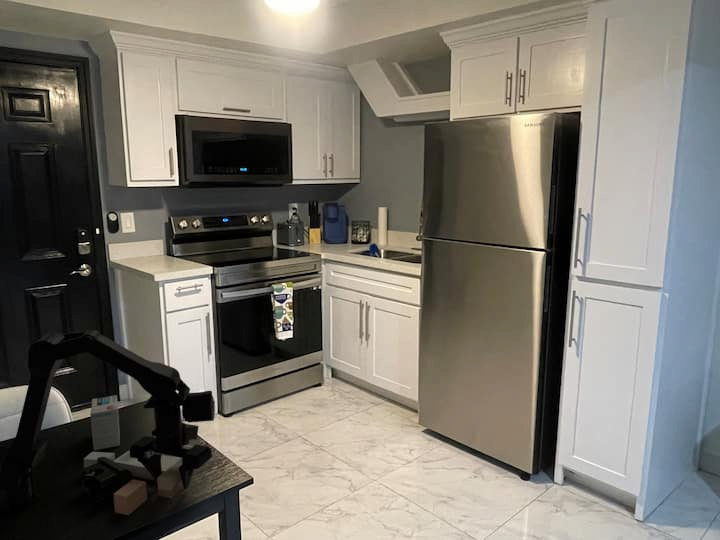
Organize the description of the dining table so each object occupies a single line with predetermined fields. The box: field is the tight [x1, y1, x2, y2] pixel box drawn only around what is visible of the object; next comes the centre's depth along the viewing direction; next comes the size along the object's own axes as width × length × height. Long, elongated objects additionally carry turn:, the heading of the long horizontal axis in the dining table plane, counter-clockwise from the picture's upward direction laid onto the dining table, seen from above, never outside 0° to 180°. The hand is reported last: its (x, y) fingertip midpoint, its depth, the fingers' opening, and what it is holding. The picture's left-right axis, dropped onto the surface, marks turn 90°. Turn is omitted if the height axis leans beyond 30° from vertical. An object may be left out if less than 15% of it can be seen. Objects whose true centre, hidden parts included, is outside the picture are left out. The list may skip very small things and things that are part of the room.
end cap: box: [81, 457, 134, 506], centre depth 122 cm, size 10×7×7 cm
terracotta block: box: [113, 478, 148, 516], centre depth 117 cm, size 6×4×4 cm, turn 163°
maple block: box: [156, 465, 184, 499], centre depth 123 cm, size 6×4×4 cm, turn 162°
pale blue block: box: [83, 451, 116, 477], centre depth 130 cm, size 6×4×4 cm, turn 83°
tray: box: [114, 444, 194, 482], centre depth 134 cm, size 12×15×3 cm
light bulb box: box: [89, 395, 121, 451], centre depth 146 cm, size 11×7×11 cm, turn 25°
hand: (172, 485), depth 123 cm, fingers open, 7 cm apart
